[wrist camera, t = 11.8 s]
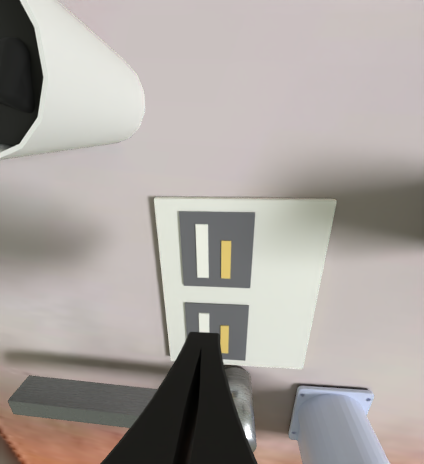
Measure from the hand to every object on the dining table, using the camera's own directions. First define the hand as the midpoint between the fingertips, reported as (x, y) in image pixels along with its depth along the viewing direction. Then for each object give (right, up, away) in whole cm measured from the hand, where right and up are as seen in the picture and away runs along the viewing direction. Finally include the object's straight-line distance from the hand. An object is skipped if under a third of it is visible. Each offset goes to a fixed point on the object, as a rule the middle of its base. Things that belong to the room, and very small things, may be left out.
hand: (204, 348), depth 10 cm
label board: (+3, 0, +11) cm, 12 cm away
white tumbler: (-7, +15, +6) cm, 18 cm away
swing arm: (-7, -10, +16) cm, 20 cm away
